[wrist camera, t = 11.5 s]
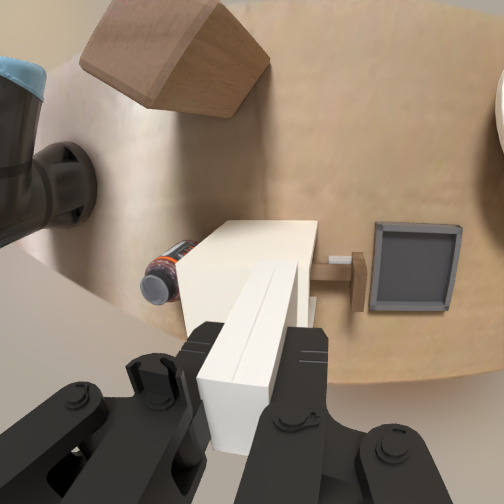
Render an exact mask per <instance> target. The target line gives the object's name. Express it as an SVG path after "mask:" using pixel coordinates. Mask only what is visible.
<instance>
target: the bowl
mask: <svg viewBox="0 0 504 504" xmlns="http://www.w3.org/2000/svg"><path fill="white" fill-rule="evenodd" d="M495 115H496V125H497V131H498V135H499V140H500V144H501V147H502V150H503V153H504V70H503V72H502V74H501V77H500V79H499V82H498V86H497V92H496V100H495Z"/></svg>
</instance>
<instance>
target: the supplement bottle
mask: <svg viewBox="0 0 504 504" xmlns="http://www.w3.org/2000/svg"><path fill="white" fill-rule="evenodd" d="M198 244H199V243H197V242H195V241H192V240H184V241H181V242H179V243H177V244H176V245H175V246H173V247H172V248H170V249H169V250H168V251H166V252H165V253H163V254H162V255H160V256H159V257H158V258H156V259H155V260H154V261H152V262H151V263H150V264H149V265H148V267H147V269H146V271H145V277H144V278H143V279H142V281H141V284H140V288H141V292H142V295H143V296H144V298H145V299H146V300H147V301H148V302H150V303H152V304H154V305H163V304H164V303H166V302H175V301H177V300H179V299H180V298H181V297H180V291H179V284H178V278H177V272H176V265H175V264H176V263H177V262H178V261H179V260H180V259H181V258H183V257H184V256H185V255H186V254H187V253H189V252H190V251H191V250H192V249H193V248H195V247H196V246H197V245H198Z"/></svg>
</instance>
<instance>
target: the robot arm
mask: <svg viewBox="0 0 504 504" xmlns="http://www.w3.org/2000/svg"><path fill="white" fill-rule="evenodd" d="M46 78H47V75H46V72H45V70H44V69H43V68H42V67H41V66H39V65H37V64H34V63H30V62H27V61H23V60H18V59H14V58H9V57H2V56H0V248H2V247H4V246H6V245H8V244H10V243H13V242H15V241H17V240H19V239H21V238H23V237H25V236H28V235H30V234H32V233H34V232H36V231H39V230H41V229H69V228H72V227H74V226H77V225H79V224H81V223H83V222H84V221H85V220H86V219H87V218H88V217H89V215H90V214H91V212H92V209H93V207H94V204H95V199H96V177H95V172H94V169H93V166H92V163H91V161H90V159H89V157H88V156H87V154H86V153H85V151H84V150H83V149H82V148H81V147H79V146H78V145H77V144H75V143H72V142H59V143H54V144H51V145H49V146H47V147H46V148H44V149H42V150H41V151H39V152H38V153H36V154H35V155H33V153H34V145H35V139H36V132H37V127H38V121H39V116H40V111H41V106H42V103H43V101H44V98H43V94H44V89H45V83H46ZM297 305H298V261H286V260H258V261H257V263H256V265H255V267H254V269H253V271H252V273H251V275H250V276H249V278H248V280H247V282H246V284H245V286H244V288H243V290H242V292H241V294H240V296H239V297H238V299H237V301H236V303H235V305H234V307H233V309H232V311H231V313H230V315H229V317H228V318H227V320H226V322H225V323H221V322H210V321H205V322H204V323H202V324H201V325H199V326H198V327H196V328H195V329H194V330H193V331H192V333H191V334H190V336H189V337H188V339H187V342H185V343H184V345H183V346H182V348H181V351H179V353H178V354H177V356H176V357H174V356H171V355H168V354H163V353H152V354H147V355H142V356H140V357H138V358H136V359H134V360H132V361H131V362H130V363H129V364H127V365H126V370H127V373H128V376H129V379H130V381H131V384H132V387H133V389H134V392H135V394H134V396H133V397H103V395H102V393H101V391H100V389H99V388H98V387H97V386H96V385H95V384H92V383H90V382H75V383H71V384H69V385H67V386H65V387H63V388H62V389H60V390H59V391H58V392H56V393H55V394H54V395H52V396H51V397H50V398H49V399H47V400H46V401H45V402H43V403H42V404H40V405H39V406H38V407H36V408H35V409H34V410H32V411H31V412H30V413H28V414H27V415H26V416H24V417H23V418H22V419H20V420H19V421H18V422H16V423H15V424H14V425H12V426H11V427H10V428H8V429H7V430H6V431H4V432H3V433H2V434H0V504H191V503H192V500H193V497H194V495H195V493H196V490H197V488H198V486H199V483H200V481H201V478H202V475H203V472H204V470H205V468H206V463H207V458H206V455H205V451H206V448H207V445H208V443H209V441H210V440H211V444H212V448H213V450H217V451H223V452H228V453H234V454H240V455H247V456H248V459H247V462H246V465H245V469H244V472H243V475H242V478H241V482H240V485H239V488H238V491H237V494H236V498H235V501H234V504H453V502H452V500H451V498H450V496H449V493H448V491H447V489H446V487H445V484H444V482H443V480H442V478H441V475H440V473H439V471H438V469H437V467H436V465H435V463H434V460H433V459H432V456H431V454H430V452H429V450H428V448H427V446H426V444H425V442H424V440H423V439H422V437H421V436H420V435H419V434H418V433H417V432H416V431H415V430H413V429H411V428H410V427H408V426H404V425H400V424H384V425H381V426H378V427H375V428H373V429H372V430H370V431H369V432H368V433H364V432H360V431H357V430H353V429H350V428H348V427H345V426H343V425H341V424H339V423H338V422H337V421H335V420H334V419H333V418H332V417H331V415H330V414H329V412H328V410H327V407H326V389H327V368H328V337H327V336H326V334H325V333H324V331H323V330H322V328H307V327H297ZM75 447H78V448H79V450H80V451H78V452H71V451H72V450H73V449H74V448H75Z"/></svg>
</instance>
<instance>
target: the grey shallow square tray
mask: <svg viewBox="0 0 504 504" xmlns="http://www.w3.org/2000/svg"><path fill="white" fill-rule="evenodd" d="M462 231H463V228H462V227H461V226H459V225H447V224H426V223H403V222H376V221H375V239H374V254H373V266H372V278H371V288H370V297H369V310H384V311H448V310H449V306H450V301H451V297H452V292H453V287H454V282H455V277H456V271H457V265H458V259H459V253H460V246H461V239H462Z"/></svg>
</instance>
